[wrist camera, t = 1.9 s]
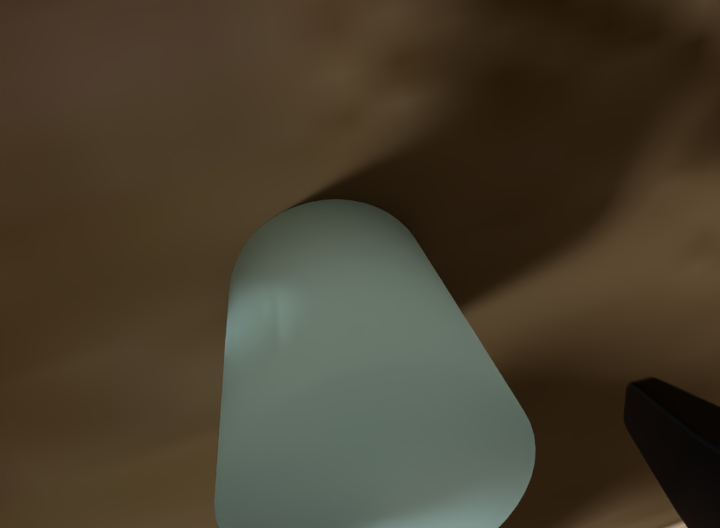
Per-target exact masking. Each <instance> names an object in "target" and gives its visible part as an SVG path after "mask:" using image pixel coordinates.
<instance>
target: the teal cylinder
mask: <svg viewBox="0 0 720 528" xmlns="http://www.w3.org/2000/svg"><path fill="white" fill-rule="evenodd" d="M535 451H536V448H535V439H534V434H533V430H532V427H531V424H530V421H529V419H528V418H527V416H526V414H525V412H524V410H523V409H522V407H521V405H520V404H519V402H518V401H517V399H516V398H515V396H514V394H513V393H512V391H511V390H510V388H509V386H508V385H507V383H506V382H505V380H504V378H503V377H502V375H501V374H500V372H499V371H498V369H497V367H496V366H495V364H494V363H493V361H492V359H491V358H490V356H489V355H488V353H487V352H486V350H485V348H484V347H483V345H482V344H481V342H480V340H479V339H478V337H477V336H476V334H475V333H474V331H473V329H472V328H471V326H470V325H469V323H468V321H467V320H466V318H465V317H464V315H463V314H462V312H461V310H460V309H459V307H458V306H457V304H456V302H455V301H454V299H453V298H452V296H451V295H450V293H449V291H448V290H447V288H446V287H445V285H444V283H443V282H442V280H441V279H440V277H439V276H438V274H437V272H436V271H435V269H434V268H433V266H432V264H431V263H430V261H429V260H428V258H427V257H426V255H425V253H424V252H423V250H422V249H421V247H420V245H419V244H418V242H417V241H416V239H415V238H414V236H413V235H412V234H411V232H410V231H409V230H408V229H407V228H406V227H405V226H404V225H403V224H402V223H401V222H400V221H399V220H398V219H396V218H395V217H393V216H392V215H390V214H389V213H387V212H385V211H383V210H381V209H379V208H377V207H375V206H372V205H369V204H366V203H363V202H358V201H353V200H342V199H330V200H319V201H314V202H308V203H305V204H302V205H299V206H295V207H293V208H291V209H289V210H286V211H284V212H282V213H280V214H279V215H277V216H275V217H274V218H272V219H270V220H269V221H268V222H267V223H265V224H264V225H263V226H261V227H260V228H259V229H258V230H257V231H256V232H255V233H254V234H253V235H252V236H251V237H250V239H249V240H248V241H247V243H246V244H245V245H244V247H243V248H242V250H241V252H240V254H239V255H238V257H237V259H236V262H235V264H234V267H233V270H232V274H231V279H230V287H229V301H228V315H227V329H226V343H225V358H224V372H223V386H222V400H221V415H220V429H219V443H218V457H217V471H216V486H215V507H214V509H215V515H216V521H217V525H218V528H499V527H500V526H501V524H502V523H503V522H504V521H505V520H506V519H507V518H508V517H509V516H510V514H511V513H512V512H513V510H514V509H515V508H516V506H517V505H518V503H519V501H520V500H521V498H522V496H523V495H524V493H525V491H526V489H527V486H528V484H529V481H530V479H531V476H532V472H533V468H534V464H535Z"/></svg>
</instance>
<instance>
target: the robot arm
mask: <svg viewBox="0 0 720 528" xmlns="http://www.w3.org/2000/svg"><path fill="white" fill-rule="evenodd" d="M624 422H625V426H626V428H627V430H628V432H629V434H630V435H631V437H632V439H633V440H634V442H635V444H636V445H637V447H638V449H639V450H640V452H641V454H642V455H643V457H644V459H645V460H646V462H647V464H648V465H649V467H650V469H651V470H652V472H653V474H654V475H655V477H656V479H657V480H658V482H659V484H660V485H661V487H662V489H663V490H664V492H665V494H666V495H667V497H668V499H669V500H670V502H671V504H672V505H673V507H674V508H675V510H676V511H677V513H678V515H679V516H680V517H681V519H682V520H683V522H684V523H685V524H686V526H687V527H688V528H720V407H719V406H717V405H715V404H713V403H711V402H708V401H706V400H704V399H702V398H700V397H697V396H695V395H693V394H691V393H688V392H686V391H684V390H682V389H680V388H677V387H675V386H673V385H671V384H669V383H666V382H664V381H662V380H660V379H657V378H654V377H646V378H642V379H639V380H635V381H632V382H630V383H629V384H628V385H627V387H626V395H625V405H624Z"/></svg>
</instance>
